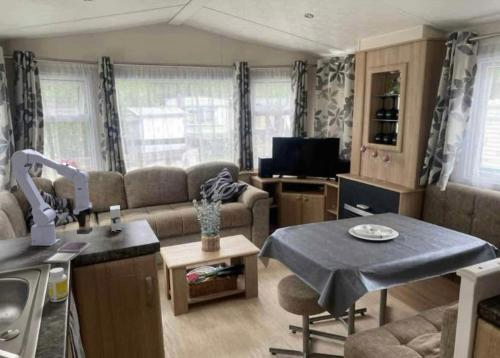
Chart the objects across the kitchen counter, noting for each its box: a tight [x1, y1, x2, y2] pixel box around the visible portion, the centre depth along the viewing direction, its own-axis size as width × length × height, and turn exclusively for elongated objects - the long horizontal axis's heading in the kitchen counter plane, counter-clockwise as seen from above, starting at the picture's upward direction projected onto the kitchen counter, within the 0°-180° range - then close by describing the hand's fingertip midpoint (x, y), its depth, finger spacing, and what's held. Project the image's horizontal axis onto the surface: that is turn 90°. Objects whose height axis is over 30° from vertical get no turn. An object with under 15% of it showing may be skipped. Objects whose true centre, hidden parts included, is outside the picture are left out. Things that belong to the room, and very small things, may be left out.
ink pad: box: [56, 241, 91, 254], centre depth 165 cm, size 10×10×1 cm
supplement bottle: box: [47, 267, 69, 303], centre depth 119 cm, size 5×5×10 cm
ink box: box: [109, 204, 122, 232], centre depth 192 cm, size 8×5×12 cm, turn 21°
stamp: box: [76, 215, 93, 235], centre depth 172 cm, size 5×5×8 cm
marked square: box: [43, 251, 81, 263], centre depth 154 cm, size 10×10×1 cm
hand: (84, 225), depth 172 cm, fingers closed on stamp, 3 cm apart
